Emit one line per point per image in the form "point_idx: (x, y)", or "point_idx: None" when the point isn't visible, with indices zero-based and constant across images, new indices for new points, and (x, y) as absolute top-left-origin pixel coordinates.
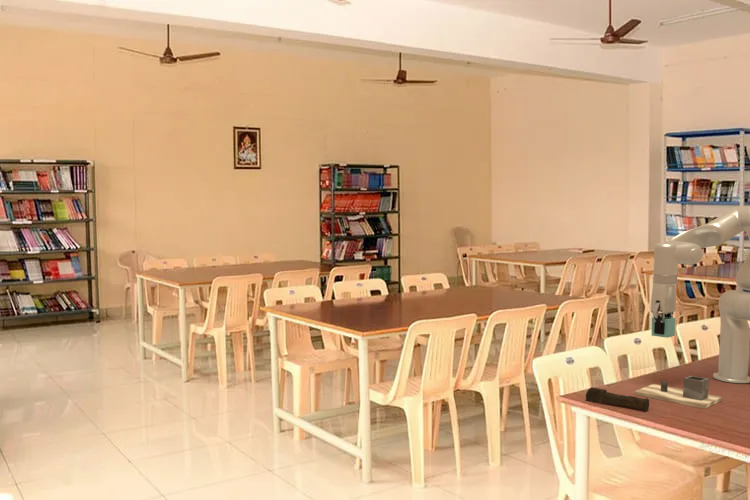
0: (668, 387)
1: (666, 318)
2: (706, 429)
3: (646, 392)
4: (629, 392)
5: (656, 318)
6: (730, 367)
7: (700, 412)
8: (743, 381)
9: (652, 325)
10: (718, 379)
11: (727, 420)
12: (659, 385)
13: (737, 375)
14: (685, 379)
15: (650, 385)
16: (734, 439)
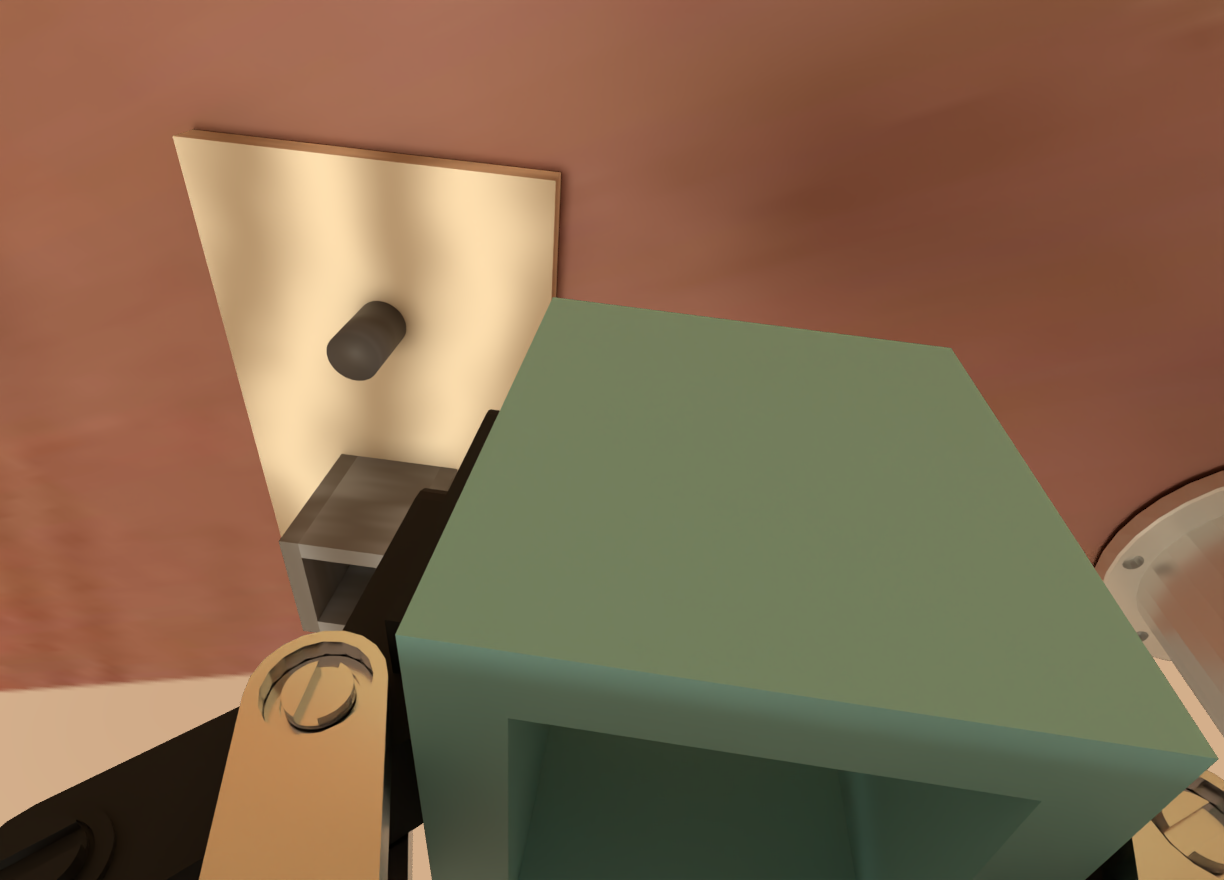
0: (523, 318)
1: (931, 872)
2: (10, 598)
3: (221, 232)
4: (213, 58)
5: (162, 814)
6: (1194, 643)
7: (221, 545)
8: None
9: (494, 449)
10: (1153, 505)
11: (217, 635)
12: (534, 241)
13: (1153, 630)
14: (285, 545)
15: (472, 177)
16: (16, 671)
